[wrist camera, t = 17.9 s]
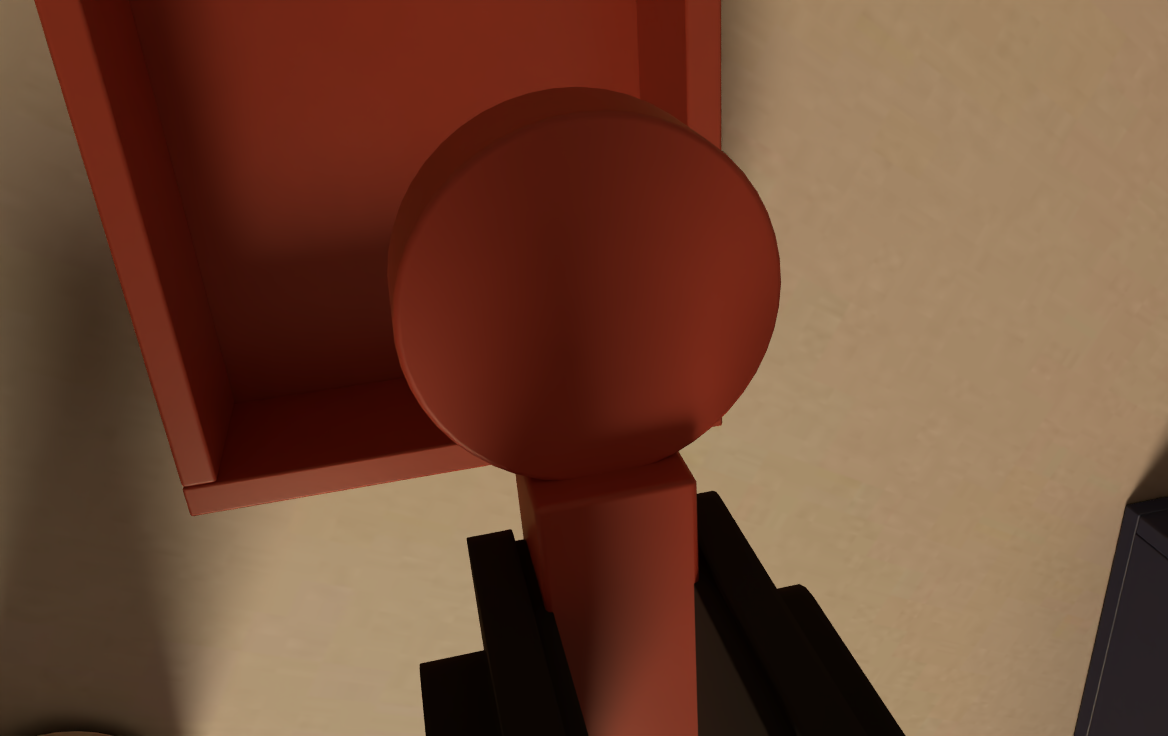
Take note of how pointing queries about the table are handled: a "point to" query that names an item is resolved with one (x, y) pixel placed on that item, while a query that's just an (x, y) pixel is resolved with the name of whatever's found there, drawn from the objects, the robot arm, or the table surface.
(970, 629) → the table surface
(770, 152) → the table surface
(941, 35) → the table surface
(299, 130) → the brick-red bin
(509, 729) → the robot arm
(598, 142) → the brick-red spoon
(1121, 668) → the navy bin
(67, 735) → the beverage can
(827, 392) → the table surface
